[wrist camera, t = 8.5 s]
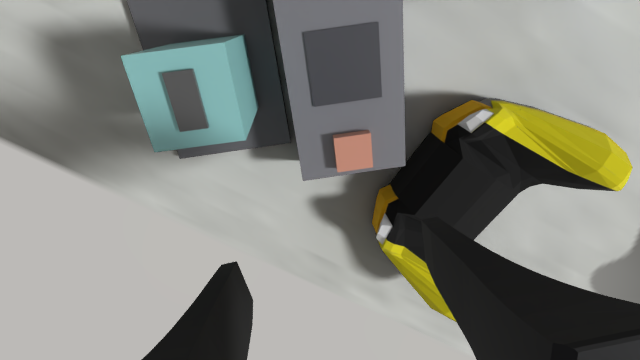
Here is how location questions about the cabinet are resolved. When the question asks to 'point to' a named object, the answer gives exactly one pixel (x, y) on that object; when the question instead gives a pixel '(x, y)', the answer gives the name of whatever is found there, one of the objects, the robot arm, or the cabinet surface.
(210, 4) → the mat
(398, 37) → the power strip
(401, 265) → the gaming controller
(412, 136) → the cabinet surface
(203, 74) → the block
